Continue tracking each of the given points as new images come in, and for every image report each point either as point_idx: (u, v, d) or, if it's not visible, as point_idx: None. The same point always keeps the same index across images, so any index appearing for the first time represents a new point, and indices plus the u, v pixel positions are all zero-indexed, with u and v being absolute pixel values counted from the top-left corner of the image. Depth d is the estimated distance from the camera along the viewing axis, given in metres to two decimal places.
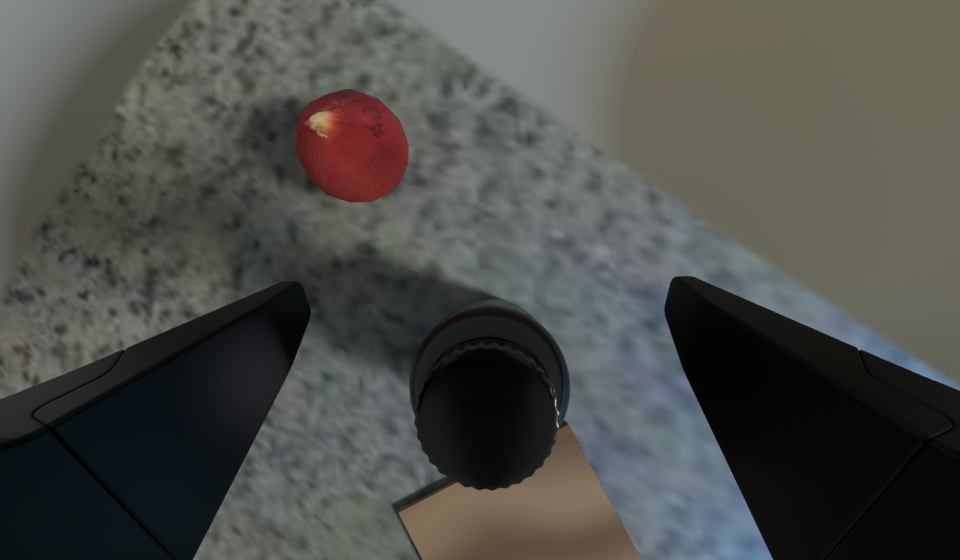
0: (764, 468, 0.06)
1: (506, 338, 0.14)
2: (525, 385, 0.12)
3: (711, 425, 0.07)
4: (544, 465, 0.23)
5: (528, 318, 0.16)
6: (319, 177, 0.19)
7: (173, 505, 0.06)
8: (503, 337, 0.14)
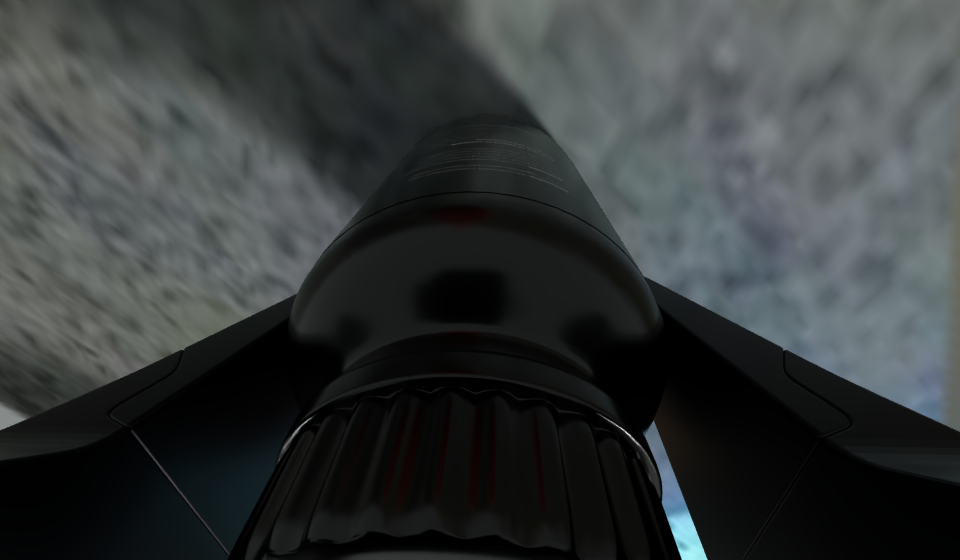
0: (698, 467, 0.06)
1: (617, 422, 0.04)
2: None
3: (656, 424, 0.07)
4: None
5: (653, 302, 0.06)
6: None
7: (233, 507, 0.06)
8: (610, 415, 0.04)
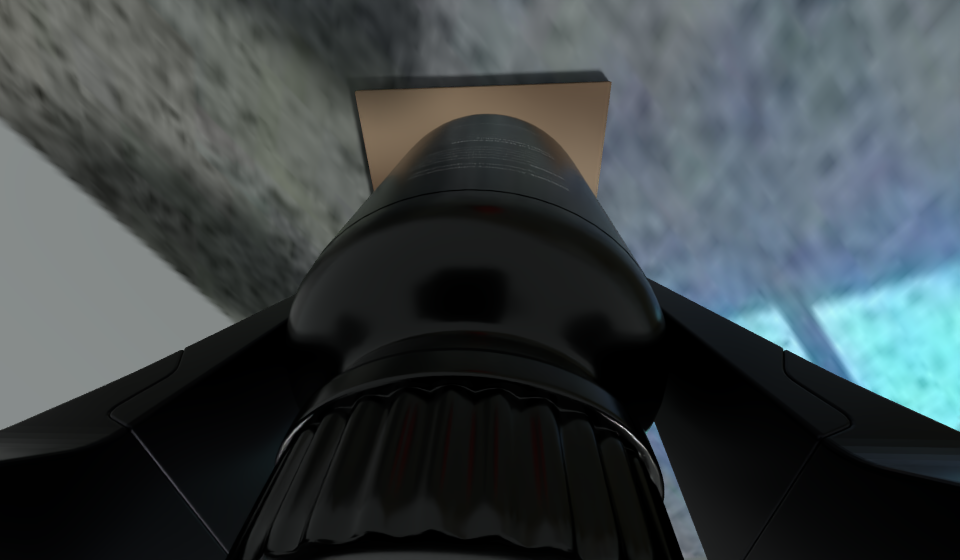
0: (698, 467, 0.06)
1: (619, 422, 0.04)
2: None
3: (656, 424, 0.07)
4: (554, 120, 0.18)
5: (655, 301, 0.06)
6: None
7: (233, 507, 0.06)
8: (612, 414, 0.04)
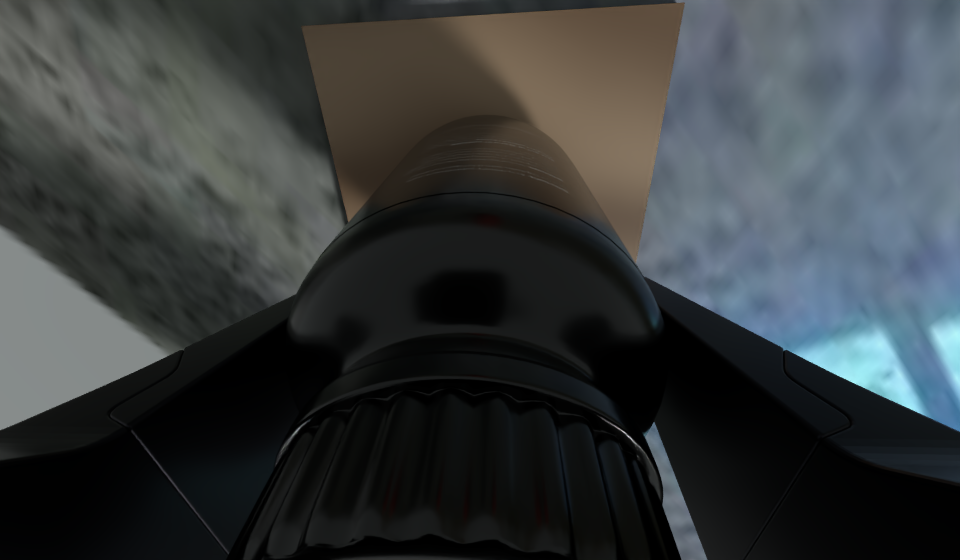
0: (698, 467, 0.06)
1: (618, 424, 0.04)
2: None
3: (656, 424, 0.07)
4: (595, 65, 0.12)
5: (654, 303, 0.06)
6: None
7: (233, 507, 0.06)
8: (610, 417, 0.04)
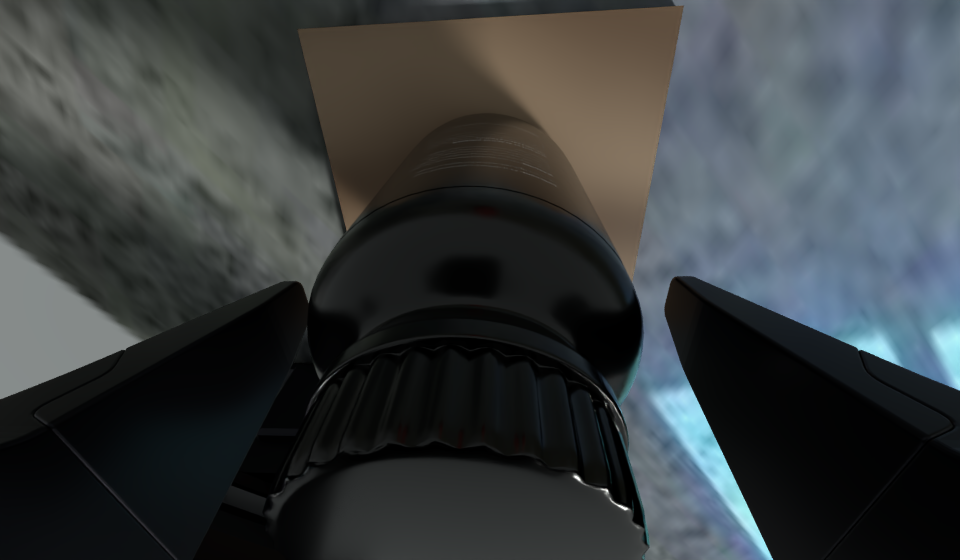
0: (764, 468, 0.06)
1: (587, 377, 0.05)
2: (587, 553, 0.04)
3: (711, 425, 0.07)
4: (593, 68, 0.12)
5: (628, 283, 0.07)
6: None
7: (173, 505, 0.06)
8: (581, 371, 0.05)
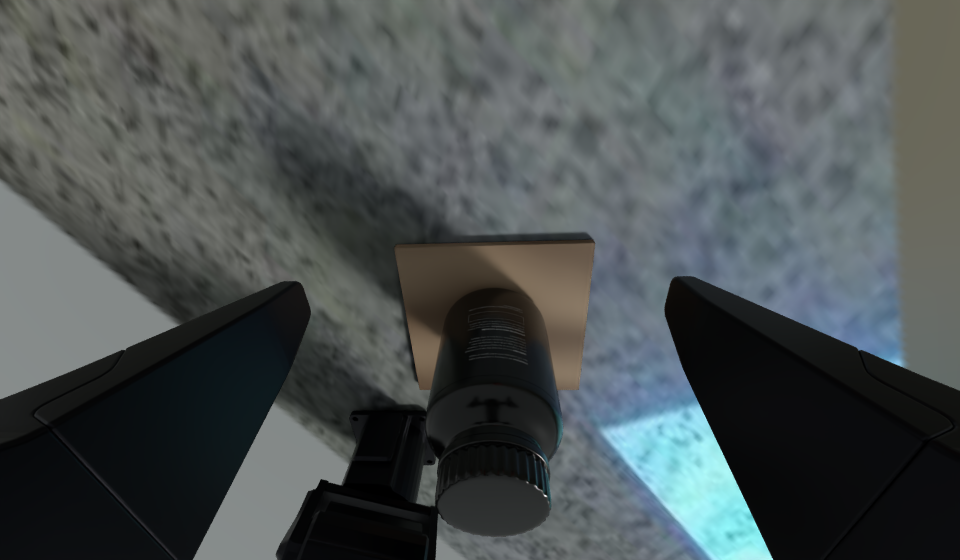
0: (764, 468, 0.06)
1: (533, 451, 0.16)
2: (532, 505, 0.15)
3: (711, 425, 0.07)
4: (551, 266, 0.23)
5: (553, 409, 0.17)
6: None
7: (173, 505, 0.06)
8: (531, 449, 0.16)
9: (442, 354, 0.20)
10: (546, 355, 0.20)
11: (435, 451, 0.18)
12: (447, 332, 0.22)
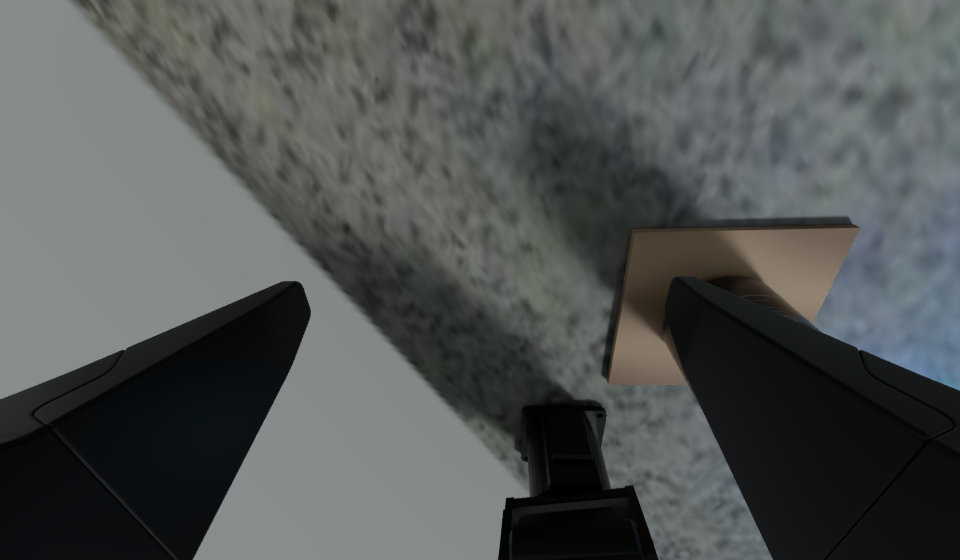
0: (764, 468, 0.06)
1: None
2: None
3: (711, 425, 0.07)
4: (801, 253, 0.22)
5: None
6: None
7: (173, 505, 0.06)
8: None
9: None
10: None
11: None
12: None
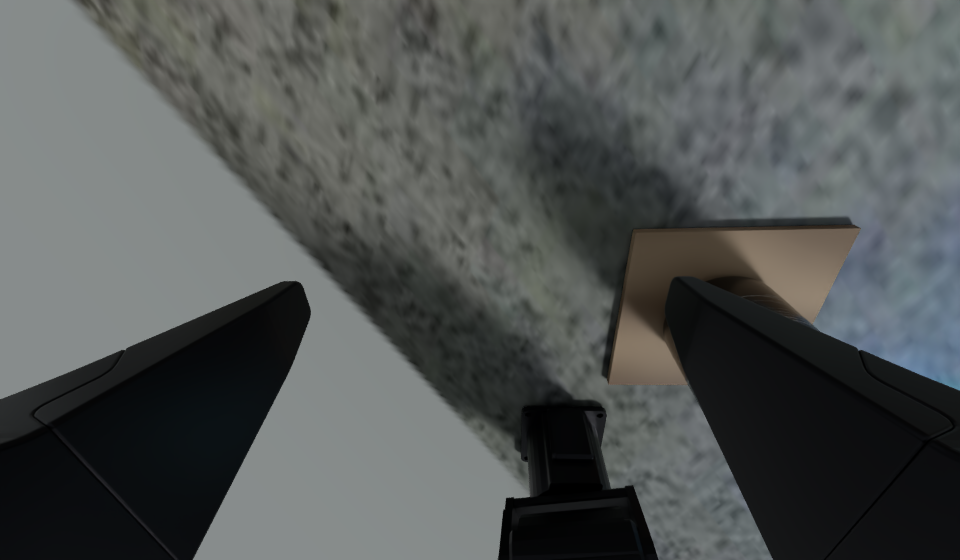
0: (764, 468, 0.06)
1: None
2: None
3: (711, 425, 0.07)
4: (801, 254, 0.22)
5: None
6: None
7: (173, 505, 0.06)
8: None
9: None
10: None
11: None
12: None
